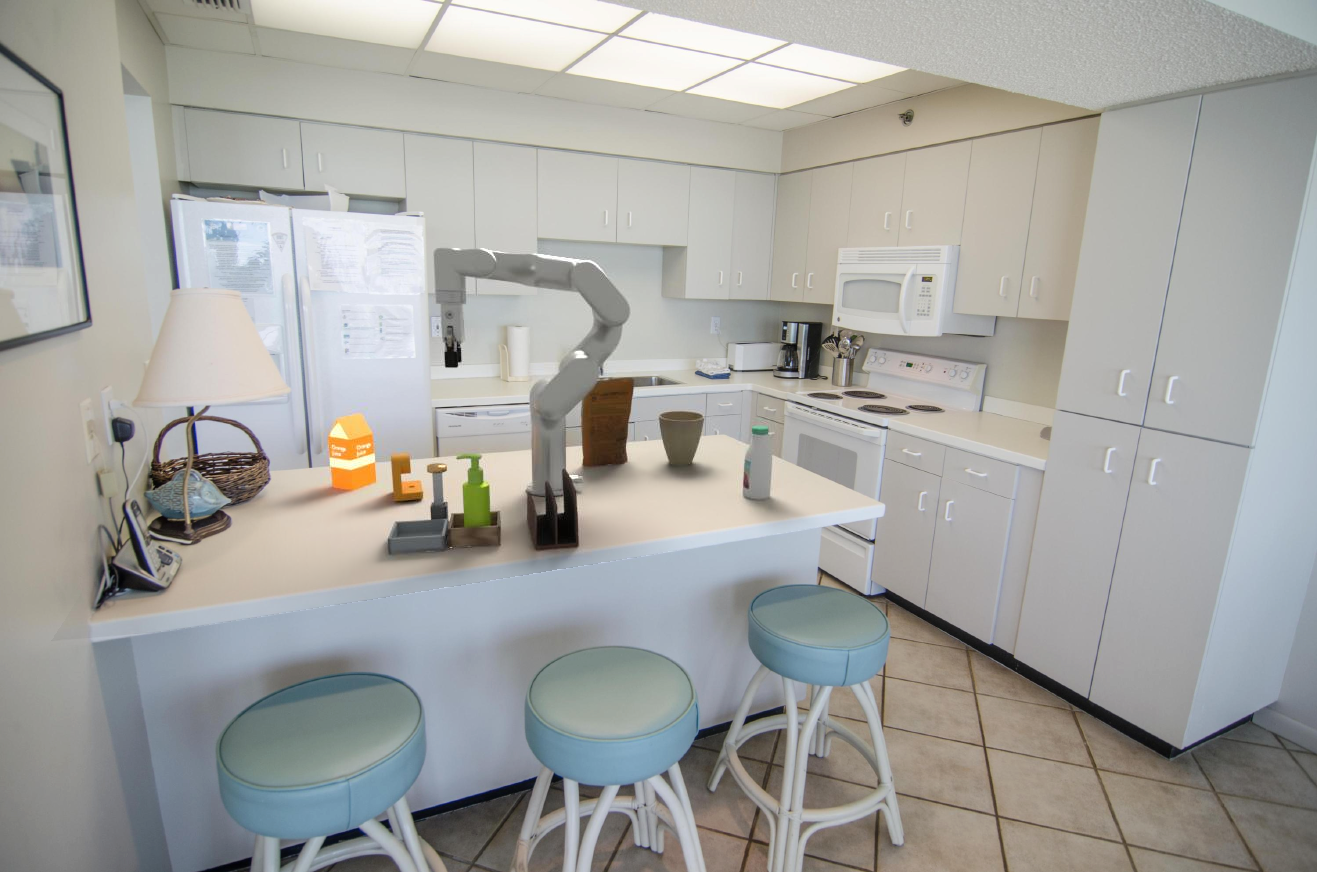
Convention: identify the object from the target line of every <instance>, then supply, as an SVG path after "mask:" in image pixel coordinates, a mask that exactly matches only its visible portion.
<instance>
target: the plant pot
mask: <svg viewBox="0 0 1317 872" xmlns="http://www.w3.org/2000/svg"><path fill="white" fill-rule="evenodd" d="M658 421H659V428H660V429H659V430H660V434H661V438H662V439H661V440H662V445H663V447H664V452H665V454H666V457H667V460H668V463H669V464H671V465H673V466H679V467H680V466H689V465H691V464H692V462H693V460H694V457H695V455H696V453H697V450H698V447H699V444H700V440H701V436H702V432H703V427H704V423H705V422H704V421H705V415H704V414H702V413H699V412H697V411H696V412H695V411H687V410H670V411H663V412H661V413H659V414H658Z"/></svg>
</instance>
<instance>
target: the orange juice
mask: <svg viewBox="0 0 1317 872" xmlns="http://www.w3.org/2000/svg"><path fill="white" fill-rule="evenodd" d="M373 434H374V433H373V431H372V429H371V428H370V427H369V425H368V423H367V422H366V419H365V418H364V415H363V414H362V413H361V412H360V413H355V414H350V415H346V416H345V415H344V416H341V417H338V418H336V420H335V422H334V423H333V425H332V428H331V431H330V432H329V434H328V436H327V441H328V442H327V444H328V451H329V452H328V455H329V465H330V466H329V467H330V474H331V482H332V483H331V484H332V487H333V488H338V489H342V490H347V491H356V490H358V489H360V488H364V487H366V485H367V486H369V484H370V485H372V484H375V483H377V474H376V473H377V472H376V457H375V449H374V448H375V447H374V435H373ZM371 483H372V484H371ZM363 486H364V487H363Z"/></svg>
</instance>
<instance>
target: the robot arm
mask: <svg viewBox="0 0 1317 872" xmlns="http://www.w3.org/2000/svg"><path fill="white" fill-rule="evenodd" d="M433 269H434V271H433V272H434V290H435V291H434V292H435V293H434V294H435V304H436V305H440V324H441V325H440V326H441V336H442V337H441V339H442V343H444V353H443V355H444V368H446V369H448V368H449V369H453V368H454V369H457V368H458V367H459V363H460V364H461V363H462V347H461V344H463V343H464V342H465V340H466V335H465V320H464V319H465V317H464V307H463V305H467V287H466V285H467V283H466V280H467V279H466V277H469V278H475V279H481V280H483V279H484V280H485V279H486V280H491V281H502V282H509V283H514V284H515V283H516V284H520V285H523V286H526V287H532V288H539V289H548V290H556V291H562V292H563V291H564V292H571V293H579V294H580V296H581V297H582V299H583V300H584V301H585V302H586V303H587V305H588V306H589V307H590V308H591V313H592V316H593V323H592V327H591V329H590V331H589V332H588V333H587V334H586V335H585V337H584V338H583V339H582V340H581V341H579V343H578V344H577V345H576V346H575V347H574V348H572V349H571V350H570V352H568V353H567V354H566V355H565V356H564V357H563V358H562V359H561V361H560V363H559V366H558V373H557V374H556V375H554V376H553V378H542V379H539V380H537V381H536V382H535V383H534V384H533V385H532V387H531V388H530V392H529V398H528V399H529V400H528V401H529V410H530V413H529V414H530V430H531V431H530V432H531V433H530V435H531V437H530V439H531V442H530V444H531V481H530V483H528V484H527V485H526V491H527V492H528V491H529V492H530V493H531V495H534V496H540V497H545V481H548V483H549V484H550V486H551V488H552V491H553V494H554V497H556V496H561V495H562V496H563V480H562V469H563V468H564V469H565V470H566V471H567V442H566V440H567V438H566V437H567V426H566V425H567V423H566V422H567V420H566V416H567V415H568V414H569V413H570V412H571V411H573V409H574V408H575V407H576V406H577V405H578V404H579V403H580V402H582V399H583V398H584V397H585V396H586V395H587V394H588V393H589V392H590V391H591V390H592V389H593V388H594V386H595V385H596V383H597V381H599V378H600V367H601V366H602V365H603V364H605V362H606V361H607V360H608V359H609V357H610V356H612V354H613V353H614V352H615V350H616V349H617V347H618V345H619V343H620V342H621V338H622V334H623V325H624V324H626V323H627V321H629V318H630V315H631V307H630V305H629V301H628V300H627V298H625V296H624V295H623V294H622V292H620V290H619V289H618V288H617V287H616V286H615V284H614V283H613V282H612V280H611V279H610V278H609V277H608V275H606V273H605V272H604V271H603V269H602V268H601V267H600V266H599V265H598V264H597V263H595V262H594V261H592V260H590V259H589V260H587V259H583V260H582V259H574V258H568V257H567V258H566V257H561V256H560V257H559V256H552V255H545V254H541V253H512V252H502V251H496V250H495V251H494V250H488V249H486V248H482V247H476V248H466V249H465V248H463V249H461V248H459V247H458V248H457V247H437V248H435V250H434V251H433ZM569 476H570V477H571V480H572V482H573V484H583V482H584V477H583V476H578V475H577V474H575V475H569Z"/></svg>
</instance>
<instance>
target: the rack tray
mask: <svg viewBox="0 0 1317 872" xmlns="http://www.w3.org/2000/svg"><path fill="white" fill-rule="evenodd" d="M448 520H449V518H448V519H434V520H431V519H418V520H417V519H415V520H399V521H394V523H393V525H392V528H391V529H390V533H389V535H388V538H387V551H388V555H401V554H402V553H403V554H416V553H415V552H419V553H427V552H426V551H435V552H445V551H446V549H447V548H446V547H447V544H446V543H447V542H448V539H447V538H448Z"/></svg>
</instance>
